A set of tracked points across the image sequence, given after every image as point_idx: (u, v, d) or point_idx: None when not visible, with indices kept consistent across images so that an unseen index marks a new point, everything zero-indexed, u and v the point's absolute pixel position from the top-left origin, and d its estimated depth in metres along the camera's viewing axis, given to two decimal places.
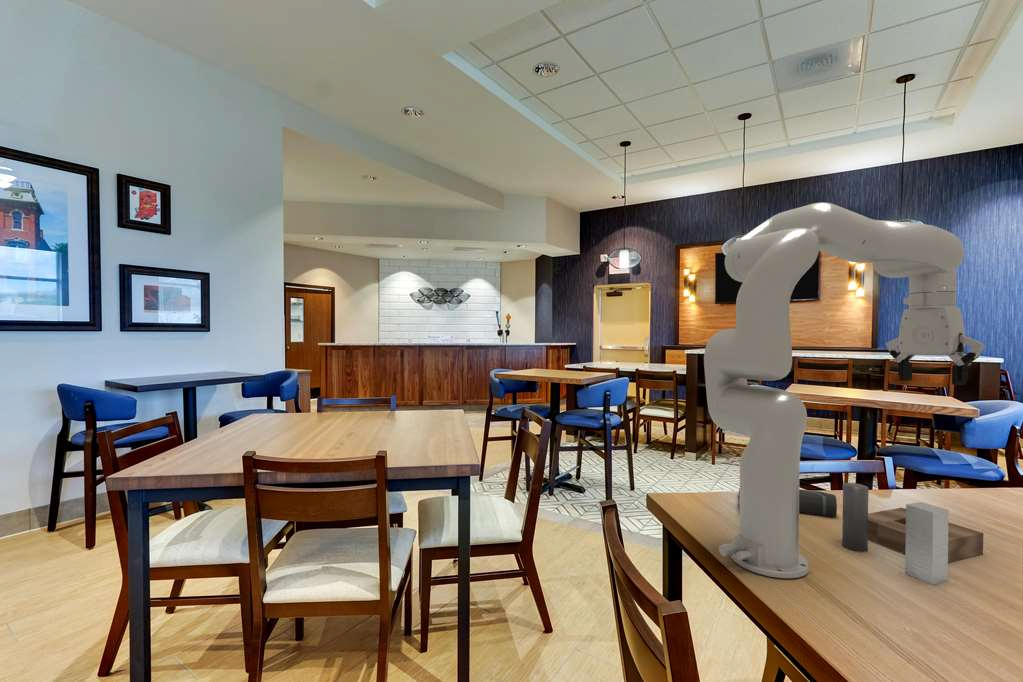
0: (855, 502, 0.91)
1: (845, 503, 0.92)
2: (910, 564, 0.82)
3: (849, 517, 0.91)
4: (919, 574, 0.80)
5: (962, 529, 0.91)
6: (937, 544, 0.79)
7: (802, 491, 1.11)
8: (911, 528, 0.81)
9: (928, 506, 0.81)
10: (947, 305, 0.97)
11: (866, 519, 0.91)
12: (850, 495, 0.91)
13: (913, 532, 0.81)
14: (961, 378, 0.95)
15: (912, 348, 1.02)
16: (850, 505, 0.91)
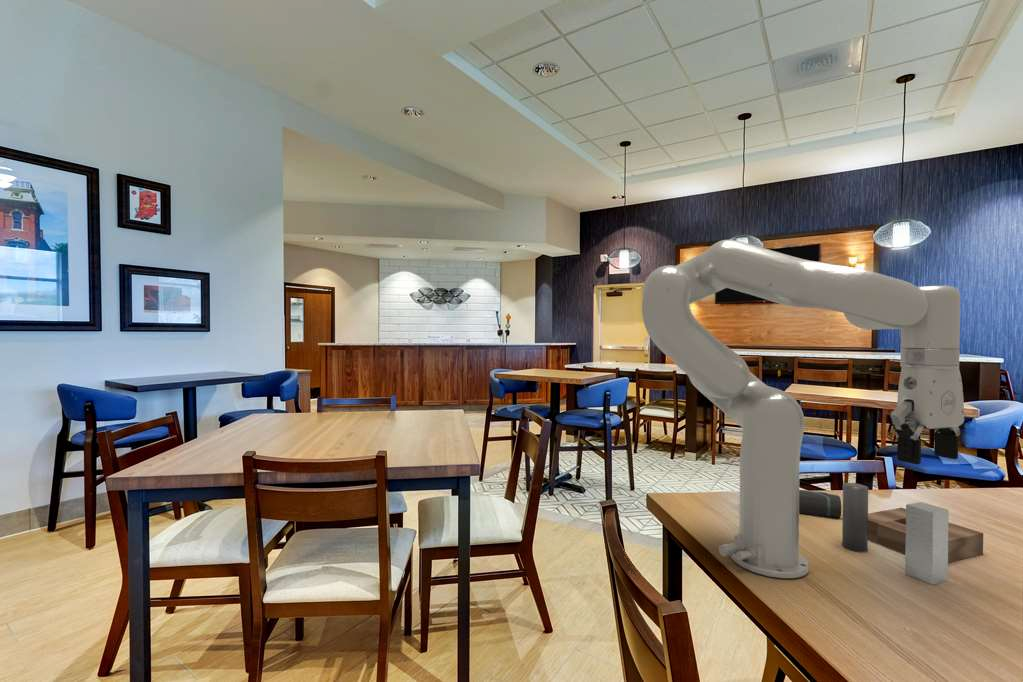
0: (855, 502, 0.91)
1: (845, 503, 0.92)
2: (910, 564, 0.82)
3: (849, 517, 0.91)
4: (919, 574, 0.80)
5: (962, 529, 0.91)
6: (937, 544, 0.79)
7: (806, 492, 1.11)
8: (911, 528, 0.81)
9: (928, 506, 0.81)
10: None
11: (866, 519, 0.91)
12: (850, 495, 0.91)
13: (913, 532, 0.81)
14: None
15: (940, 420, 0.78)
16: (850, 505, 0.91)
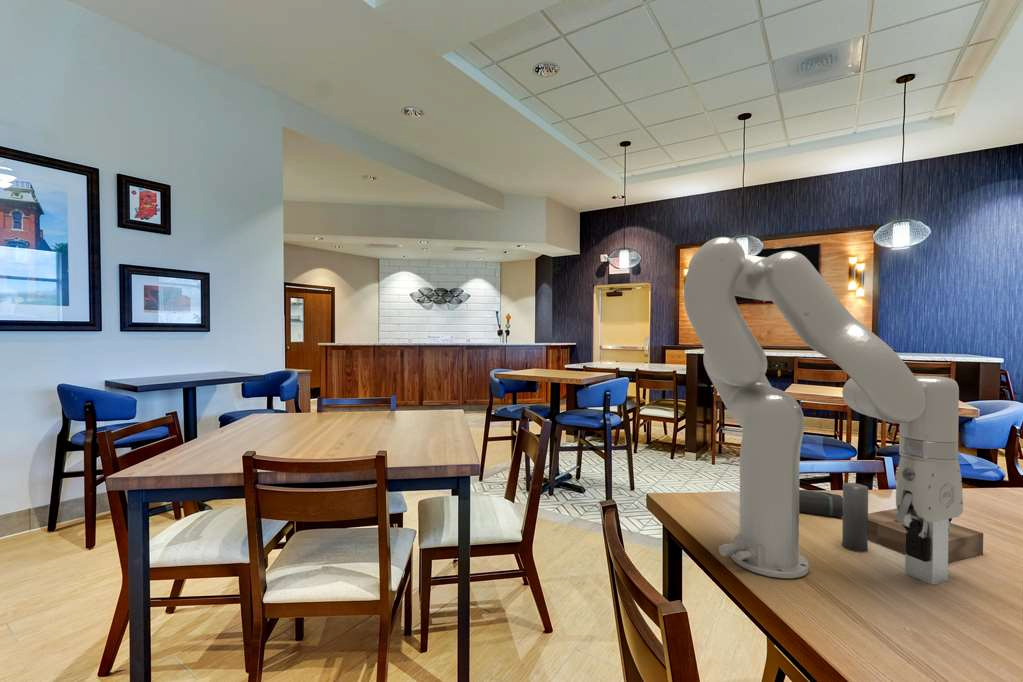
0: (855, 502, 0.91)
1: (845, 503, 0.92)
2: (910, 564, 0.82)
3: (849, 517, 0.92)
4: (919, 574, 0.80)
5: (962, 529, 0.91)
6: (937, 544, 0.79)
7: (808, 492, 1.11)
8: None
9: None
10: None
11: (866, 519, 0.91)
12: (850, 495, 0.91)
13: None
14: None
15: (939, 513, 0.78)
16: (850, 505, 0.91)
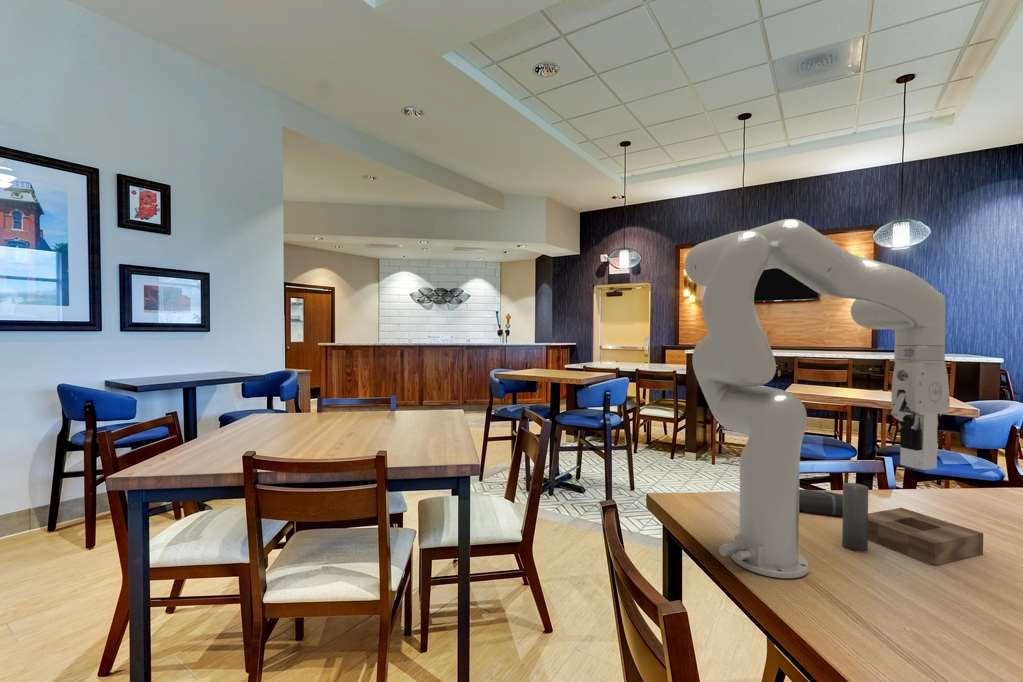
0: (855, 502, 0.91)
1: (845, 503, 0.92)
2: (904, 455, 0.94)
3: (849, 517, 0.91)
4: (912, 463, 0.93)
5: (962, 529, 0.91)
6: (927, 435, 0.91)
7: (811, 491, 1.11)
8: None
9: None
10: None
11: (866, 519, 0.91)
12: (850, 495, 0.91)
13: None
14: None
15: (928, 407, 0.90)
16: (850, 505, 0.91)
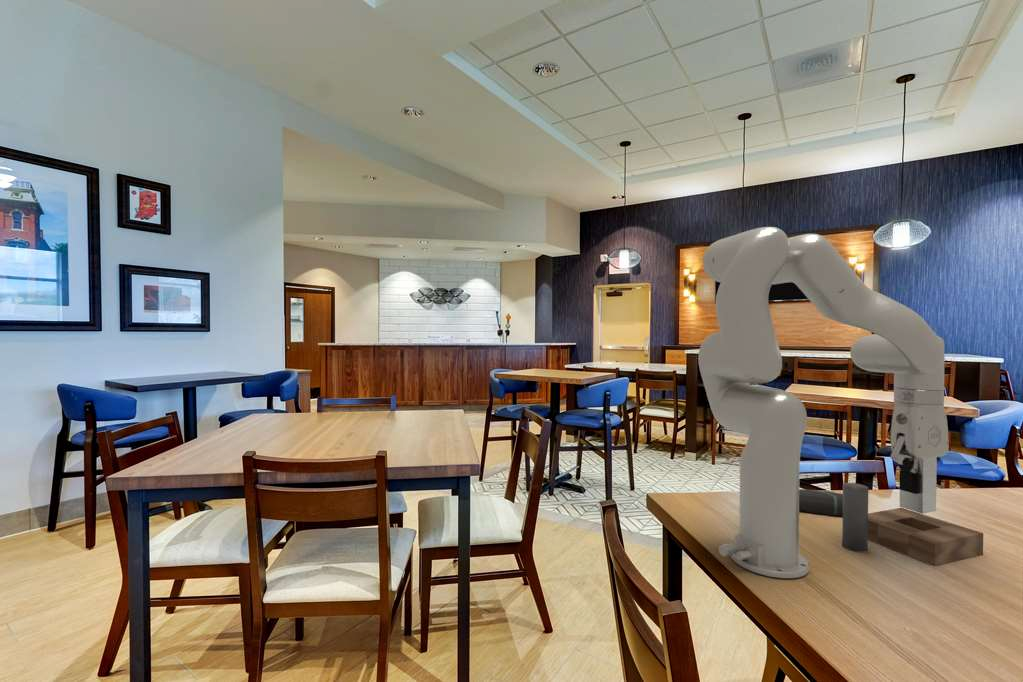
0: (855, 502, 0.91)
1: (845, 503, 0.92)
2: (904, 498, 0.94)
3: (849, 517, 0.91)
4: (911, 505, 0.93)
5: (962, 529, 0.91)
6: (927, 479, 0.92)
7: (813, 491, 1.11)
8: None
9: None
10: None
11: (866, 519, 0.91)
12: (850, 495, 0.91)
13: None
14: None
15: (928, 451, 0.91)
16: (850, 505, 0.91)
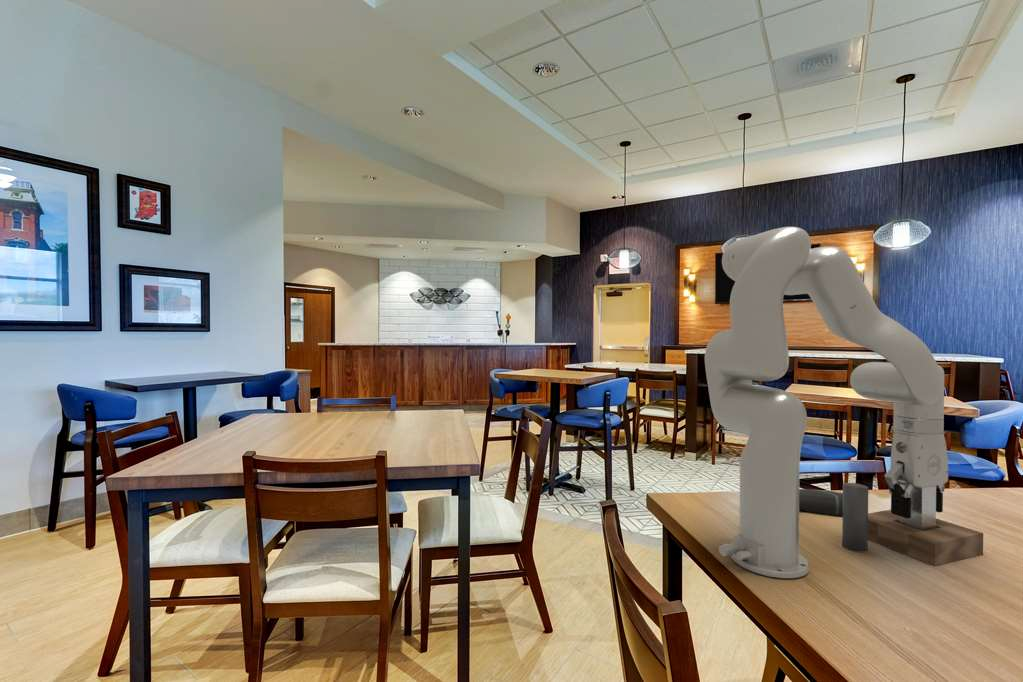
0: (855, 502, 0.91)
1: (845, 503, 0.92)
2: None
3: (849, 517, 0.92)
4: None
5: (962, 529, 0.91)
6: (926, 515, 0.92)
7: (814, 491, 1.11)
8: None
9: None
10: None
11: (866, 519, 0.91)
12: (850, 495, 0.91)
13: None
14: None
15: (927, 480, 0.91)
16: (850, 505, 0.91)
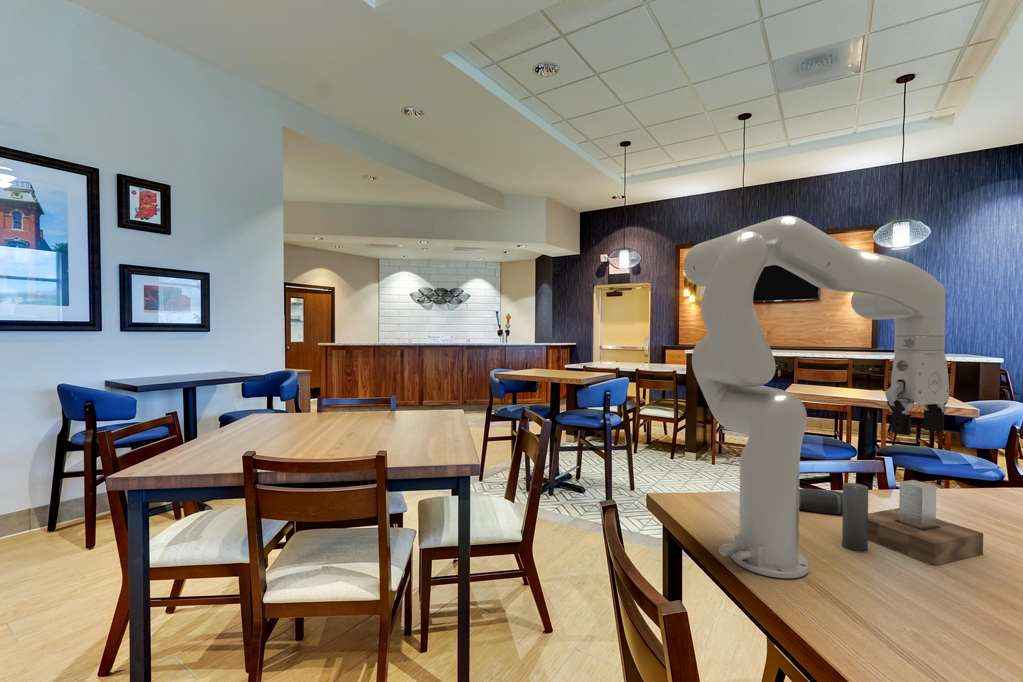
0: (855, 502, 0.91)
1: (845, 503, 0.92)
2: None
3: (849, 517, 0.91)
4: None
5: (962, 529, 0.91)
6: (926, 515, 0.92)
7: (816, 491, 1.12)
8: (904, 502, 0.94)
9: (918, 483, 0.94)
10: None
11: (866, 519, 0.91)
12: (850, 495, 0.91)
13: (906, 505, 0.94)
14: None
15: (928, 397, 0.90)
16: (850, 505, 0.91)
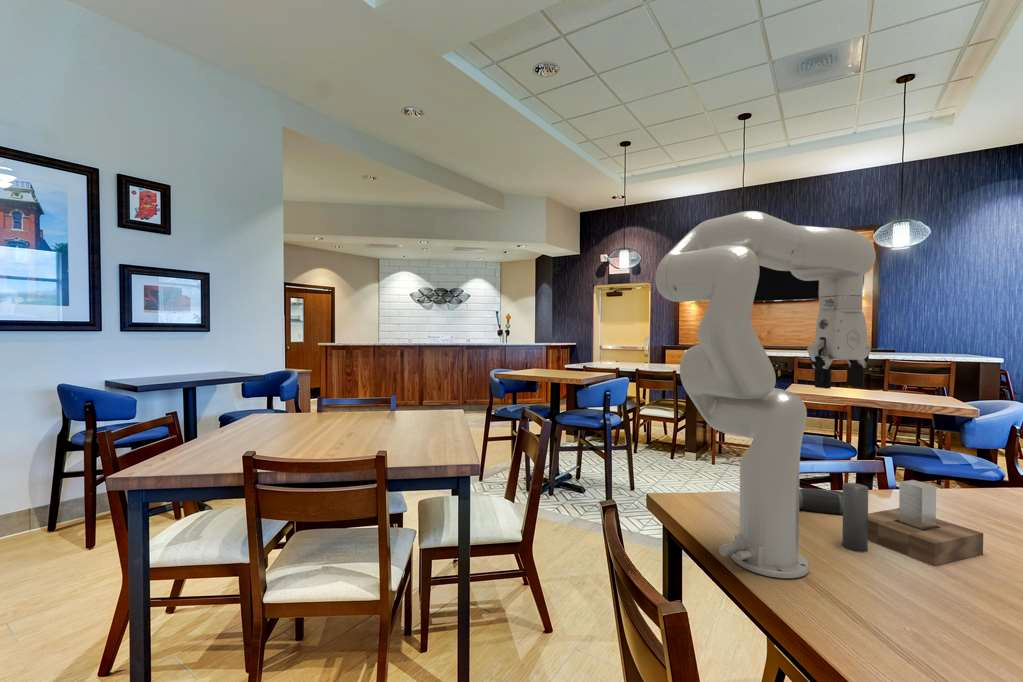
0: (855, 502, 0.91)
1: (845, 503, 0.92)
2: None
3: (849, 517, 0.91)
4: None
5: (962, 529, 0.91)
6: (926, 515, 0.92)
7: (818, 490, 1.12)
8: (904, 502, 0.94)
9: (918, 483, 0.94)
10: None
11: (866, 519, 0.91)
12: (850, 495, 0.91)
13: (906, 505, 0.94)
14: None
15: (846, 353, 0.97)
16: (850, 505, 0.91)
